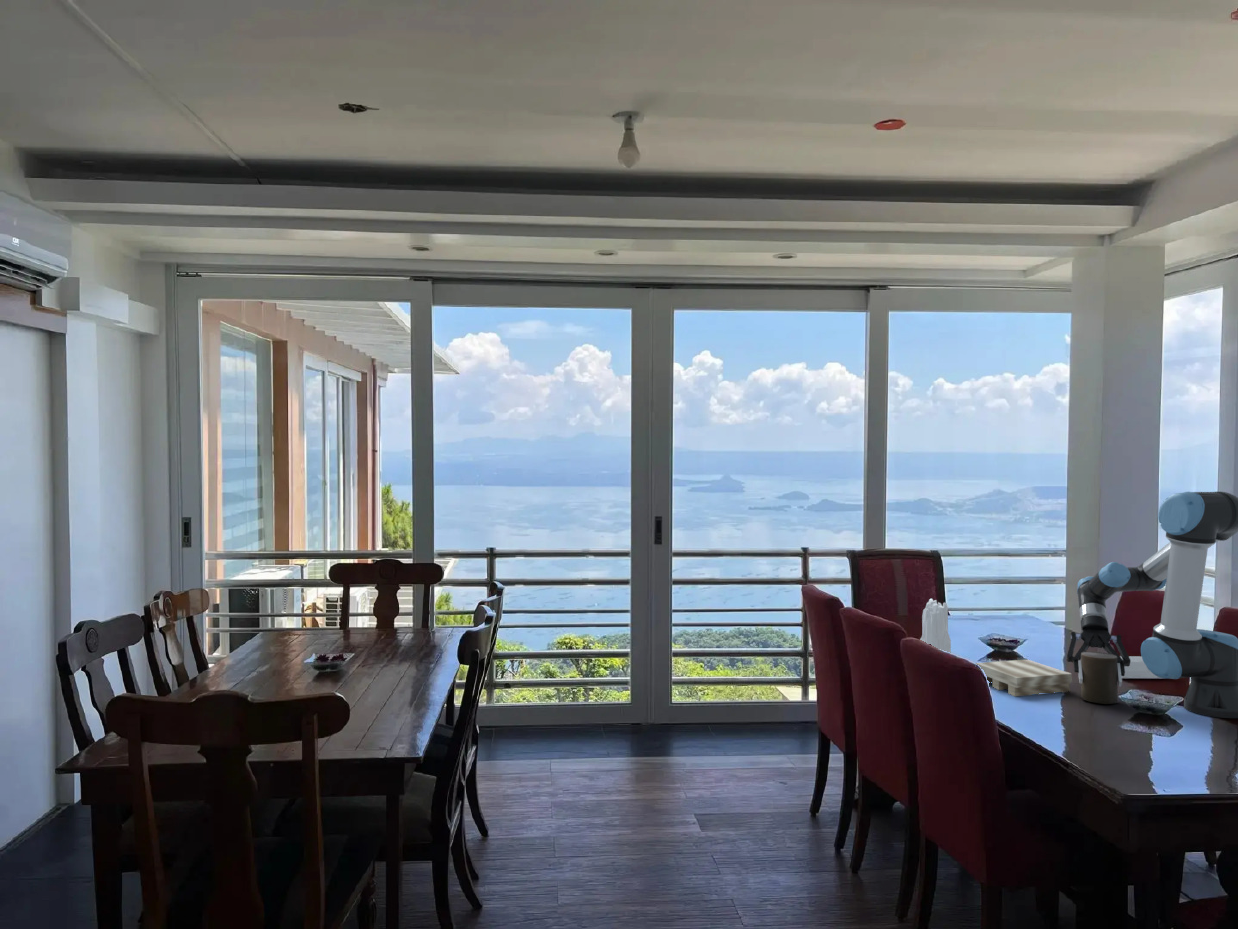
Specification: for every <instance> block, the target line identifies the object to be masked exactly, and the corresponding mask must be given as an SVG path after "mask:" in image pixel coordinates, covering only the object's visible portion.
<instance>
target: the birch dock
mask: <svg viewBox="0 0 1238 929" xmlns="http://www.w3.org/2000/svg"><path fill="white" fill-rule="evenodd" d="M976 664H977V665H979V666H980V667H981V669H983V670H984V672H985V674H986V676H987V680H988V681H989V682H990V684H991V682H992V688H993V687H994V688H993V689H995V688H996V689H995V690H998V691H1004V689H1007V692H1008V695H1010V694H1011V695H1010V696H1013V697H1023V696H1025V697H1027V696H1033V695H1032V694H1038V695H1040V694H1039V693H1050V694H1057V693H1056V692H1062V693H1069V692H1068V691H1070V689H1071V688H1070V687H1071V685H1070V684H1073V674H1072V673H1071V672H1068V671H1065V670H1061V669H1058V668H1055V667H1052V666H1049V665H1046V664H1043V663H1039V662H1037V661H1034V660H1030V659H1015V660H1002V661H1001V660H999V661H986V662H975V665H976ZM990 684H989V685H990ZM1066 691H1067V692H1066ZM1054 692H1055V693H1054ZM1070 692H1071V691H1070Z"/></svg>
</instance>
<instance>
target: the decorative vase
mask: <svg viewBox="0 0 1238 929" xmlns="http://www.w3.org/2000/svg"><path fill="white" fill-rule="evenodd" d="M948 610H949V609H948V603H947V602H945V601H944V602H943V603H941V602H939V601H938V600H937V599H935V600H934V599H933V598H930V599H928V601H927V602H926V605H925V608H924V609H923V610H922V616H921V619H922V620H921V623H922V624H921V625H922V635H921V637H920V638H919V639H920V640H922V641H924V642H926V643H927V644H931V645H932V646H934V647H936V648H938V649H941V650H944V651H947V652H950V653H951V654H952V651H951V650H952V649H951V648H952V646H951V645H952V643H951V642H952V640H951V637H950V634H949V615H948V614H949V612H948Z"/></svg>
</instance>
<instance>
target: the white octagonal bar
mask: <svg viewBox="0 0 1238 929" xmlns="http://www.w3.org/2000/svg"><path fill="white" fill-rule="evenodd" d="M1119 656H1120V657H1121V655H1119ZM1128 656H1129V655H1128ZM1129 658H1130V660H1131V661H1130V666H1125V667H1124V668H1125V675H1124V676H1121V677H1122V680H1123V679H1125V680H1126V679H1129V680H1130V679H1135V680H1136V679H1137V680H1139V679H1142V680H1143V679H1144V680H1145V679H1146V680H1148V679H1149V680H1151V679H1156V680H1157V679H1158V680H1159V679H1160V680H1161V679H1164V678H1160V677H1158V676H1156V675H1154V674H1153V673H1152V672H1151V671H1150V670H1149V669H1148V668H1147V666H1146V664H1145V663H1144V662H1143V659H1142V656H1140V655H1139V656H1138V655H1137V656H1135V655H1133V656H1132V655H1131V656H1129ZM1121 659H1122V657H1121ZM1122 660H1123V659H1122Z"/></svg>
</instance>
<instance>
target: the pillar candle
mask: <svg viewBox="0 0 1238 929" xmlns="http://www.w3.org/2000/svg"><path fill="white" fill-rule="evenodd" d="M1080 660H1081V666H1082V677H1083V680H1082V684H1081V683H1080V697H1081V699H1082V700H1083V701H1087V702H1090V703H1096V704H1104V705H1112V704H1113V705H1114V704H1117V703H1119V700H1118V699H1119V695H1118V694H1119V693H1118V692H1119V691H1118V678H1117V677H1118V674H1117V656H1116V655H1112V654H1108V653H1107V652H1100V650H1097V651H1086V652H1083V653H1081V659H1080Z"/></svg>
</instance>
